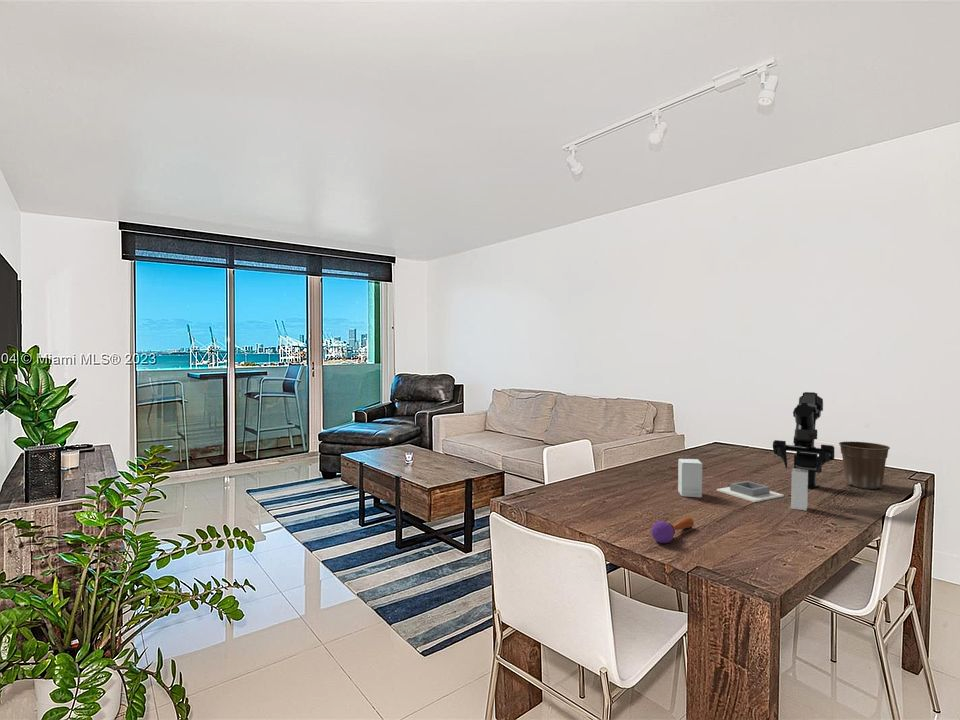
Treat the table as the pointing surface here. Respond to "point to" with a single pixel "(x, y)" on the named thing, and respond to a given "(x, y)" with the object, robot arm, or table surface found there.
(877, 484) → the plant pot
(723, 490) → the dock board
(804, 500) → the square peg
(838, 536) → the table surface
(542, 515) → the table surface
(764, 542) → the table surface
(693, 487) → the supplement box
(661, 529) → the kendama
